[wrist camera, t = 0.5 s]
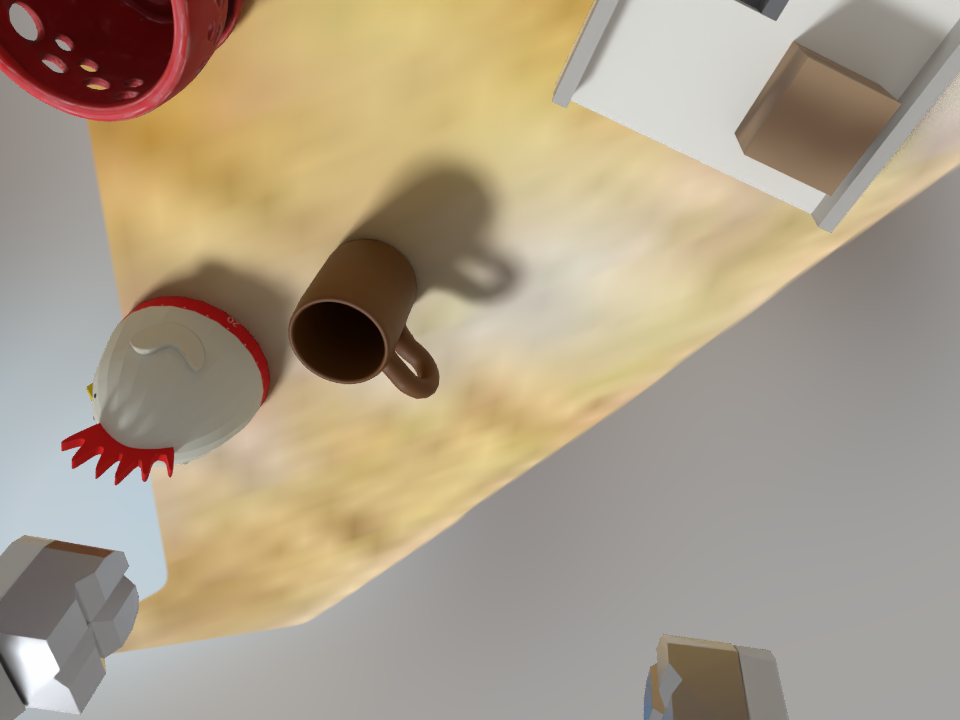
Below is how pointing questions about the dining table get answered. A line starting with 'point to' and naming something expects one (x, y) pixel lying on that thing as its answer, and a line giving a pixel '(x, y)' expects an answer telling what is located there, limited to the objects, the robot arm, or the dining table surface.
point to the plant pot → (114, 51)
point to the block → (814, 119)
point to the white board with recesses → (756, 74)
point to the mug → (362, 320)
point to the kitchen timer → (171, 387)
